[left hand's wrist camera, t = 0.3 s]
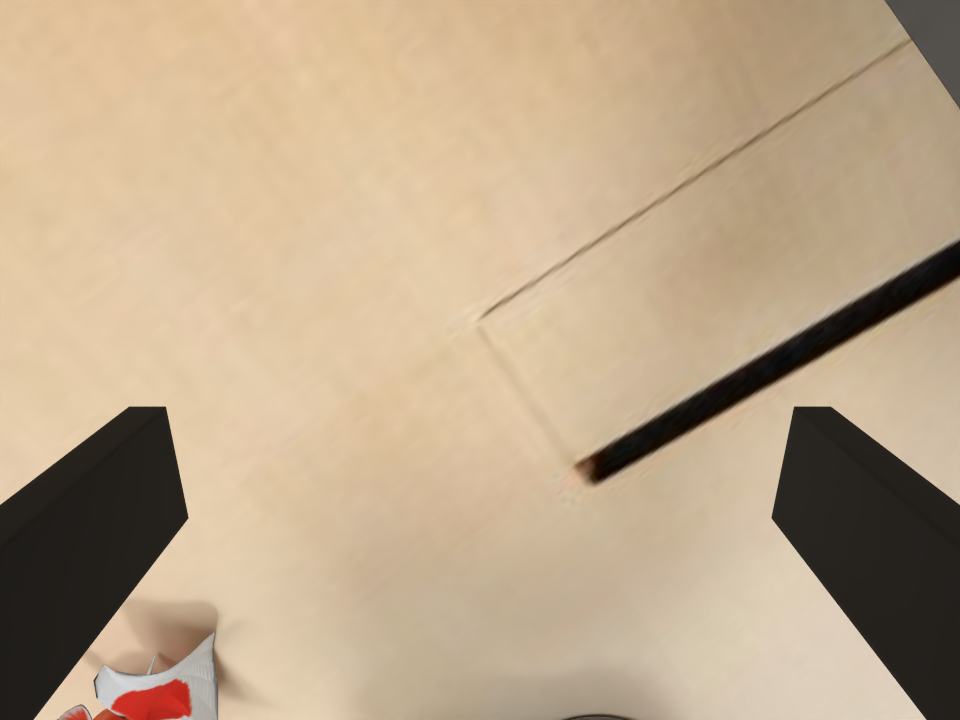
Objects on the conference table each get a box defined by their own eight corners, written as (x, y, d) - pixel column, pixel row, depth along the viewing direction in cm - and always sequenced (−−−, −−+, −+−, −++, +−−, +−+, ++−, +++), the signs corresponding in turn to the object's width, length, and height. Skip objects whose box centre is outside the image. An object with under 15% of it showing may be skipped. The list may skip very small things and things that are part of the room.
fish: (-7, 699, 46) (-23, 826, 38) (175, 566, 50) (193, 658, 42) (95, 744, 52) (99, 860, 45) (249, 623, 56) (277, 711, 49)
